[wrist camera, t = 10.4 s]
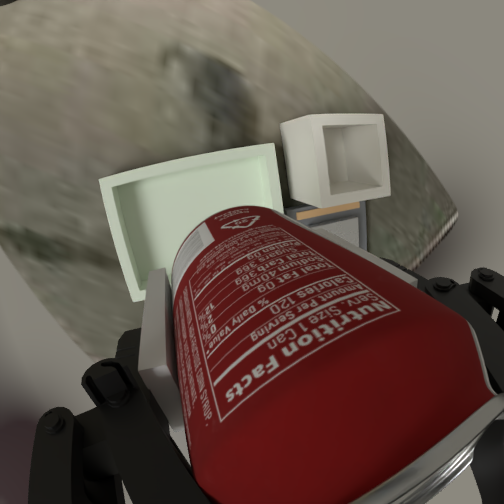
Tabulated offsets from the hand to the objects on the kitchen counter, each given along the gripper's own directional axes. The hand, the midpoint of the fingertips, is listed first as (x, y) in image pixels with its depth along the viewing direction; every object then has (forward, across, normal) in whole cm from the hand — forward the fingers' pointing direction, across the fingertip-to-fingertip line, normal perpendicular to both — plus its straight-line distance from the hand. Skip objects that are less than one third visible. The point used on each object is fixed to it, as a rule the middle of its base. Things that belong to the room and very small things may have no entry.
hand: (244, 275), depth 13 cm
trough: (+16, -1, 0) cm, 16 cm away
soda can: (+1, 0, 0) cm, 1 cm away
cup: (+17, +13, +3) cm, 21 cm away
